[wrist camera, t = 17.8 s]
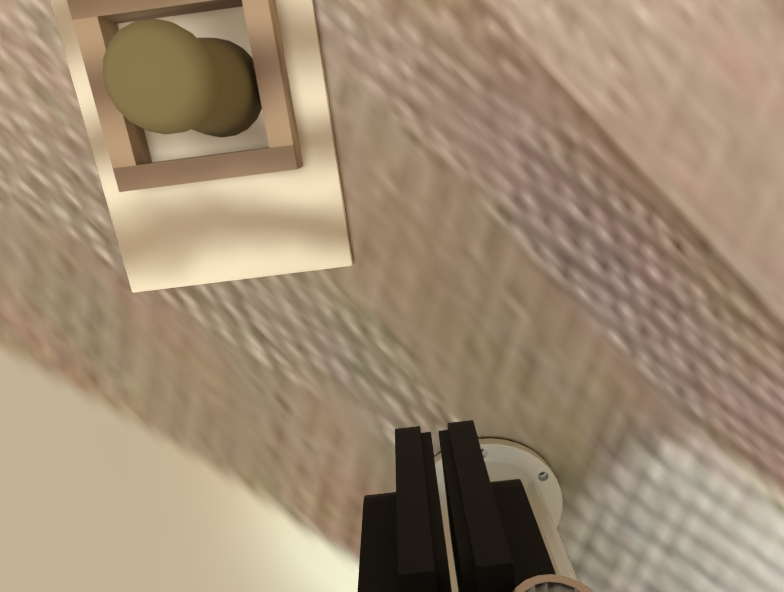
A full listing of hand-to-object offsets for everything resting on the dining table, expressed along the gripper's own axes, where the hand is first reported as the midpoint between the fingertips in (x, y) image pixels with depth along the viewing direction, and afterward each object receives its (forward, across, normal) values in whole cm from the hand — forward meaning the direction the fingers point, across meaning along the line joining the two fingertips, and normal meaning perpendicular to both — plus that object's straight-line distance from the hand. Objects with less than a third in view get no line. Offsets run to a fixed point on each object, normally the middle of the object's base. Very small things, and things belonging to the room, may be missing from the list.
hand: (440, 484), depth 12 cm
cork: (+28, +11, -11) cm, 32 cm away
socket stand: (+29, +12, -8) cm, 32 cm away
